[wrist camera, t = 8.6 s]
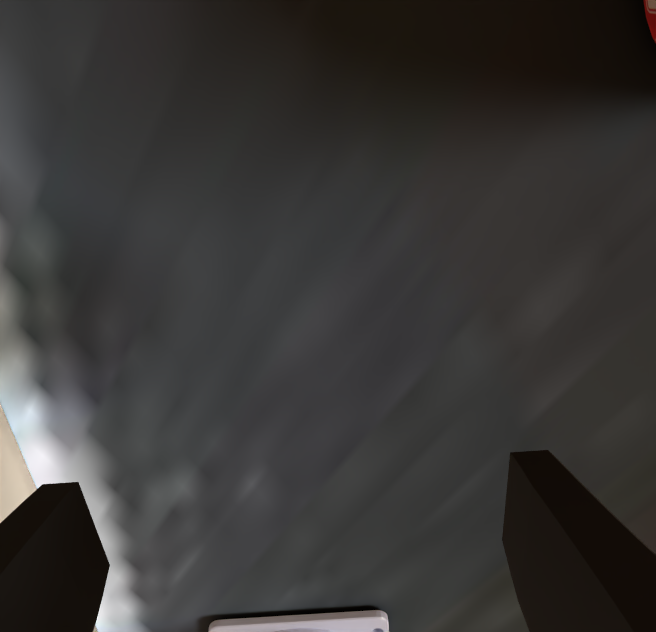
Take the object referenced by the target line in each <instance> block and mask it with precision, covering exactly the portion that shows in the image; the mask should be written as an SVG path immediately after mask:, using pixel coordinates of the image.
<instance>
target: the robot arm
mask: <svg viewBox="0 0 656 632" xmlns="http://www.w3.org/2000/svg"><path fill="white" fill-rule="evenodd" d="M502 541H503V545H504V549H505V553H506V557H507V561H508V565H509V569H510V572H511V576H512V580H513V584H514V587H515V591H516V595H517V598H518V602H519V604H520V607H521V610H522V613H523V615H524V618H525V621H526V623H527V626H528V628H529V631H530V632H656V554H655V553H654V552H653V551H652V550H650V549H649V548H648V547H647V546H646V545H645V544H644V543H643V542H642V541H641V540H640V539H639V538H637V537H636V536H635V535H634V534H633V533H632V532H631V531H630V530H629V529H628V528H627V527H626V526H625V525H624V524H623V523H622V522H620V521H619V520H618V519H617V518H616V517H615V516H614V515H613V514H612V513H611V512H610V511H609V510H608V509H607V508H606V507H605V506H604V505H603V504H602V503H601V502H600V501H599V500H598V499H597V498H596V497H595V496H594V495H593V494H592V493H591V492H590V491H589V490H588V489H587V488H586V487H585V486H584V485H583V484H582V483H581V482H580V481H579V480H578V479H577V478H576V477H575V476H574V475H573V474H572V473H571V472H570V471H569V470H568V469H567V468H566V467H565V466H564V465H563V464H562V463H561V462H560V461H559V460H558V459H557V458H556V457H555V456H554V455H553V454H552V453H551V452H549V451H548V450H541V451H526V452H512V453H510V462H509V472H508V483H507V494H506V504H505V515H504V526H503V537H502ZM109 566H110V564H109V562H108V559H107V557H106V554H105V551H104V549H103V546H102V543H101V541H100V538H99V535H98V533H97V530H96V528H95V525H94V522H93V520H92V517H91V514H90V512H89V509H88V506H87V504H86V501H85V499H84V496H83V493H82V491H81V488H80V485H79V483H78V482H71V483H57V484H43V485H41V486H40V487H39V488H38V489H37V490H36V491H35V492H33V493H32V494H31V495H30V496H29V497H28V498H27V499H26V500H25V501H23V502H22V503H21V504H20V505H19V506H18V507H17V508H16V509H15V510H14V511H13V512H12V513H11V514H9V515H8V516H7V517H6V518H5V519H4V520H3V521H2V522H1V523H0V632H93V630H94V627H95V623H96V620H97V616H98V612H99V608H100V604H101V600H102V596H103V592H104V588H105V583H106V579H107V575H108V570H109ZM208 632H389V623H388V616H387V614H386V613H385V612H383V611H381V610H368V611H352V612H336V613H319V614H303V615H287V616H271V617H254V618H238V619H222V620H215V621H213V622H211V624H210V625H209V631H208Z"/></svg>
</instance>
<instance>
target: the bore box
mask: <svg viewBox="0 0 656 632" xmlns="http://www.w3.org/2000/svg"><path fill="white" fill-rule="evenodd" d="M36 490H37V488H36V486H35V484H34V481H33V479H32V477H31V474H30V472H29V470H28V467H27V465H26V463H25V460H24V458H23V456H22V453H21V451H20V449H19V446H18V444H17V442H16V439H15V437H14V435H13V432H12V430H11V428H10V425H9V423H8V421H7V418H6V416H5V414H4V411H3V409H2V407H1V404H0V523H1V522H2V521H3V520H4V519H5V518H6V517H7V516H8V515H9V514H11V513H12V512H13V511H14V510H15V509H16V508H17V507H18V506H19V505H20V504H21V503H22V502H23V501H25V500H26V499H27V498H28V497H29V496H30V495H31V494H32V493H33V492H35V491H36ZM93 632H98V631H97V628H96V626H95V627H94V630H93Z"/></svg>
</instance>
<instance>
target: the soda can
mask: <svg viewBox="0 0 656 632" xmlns="http://www.w3.org/2000/svg"><path fill="white" fill-rule="evenodd" d="M644 7H645V14H646V19H647V22H648V25H649V28H650V31H651V35H652V37H653V39H654V41H655V43H656V0H644Z"/></svg>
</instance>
